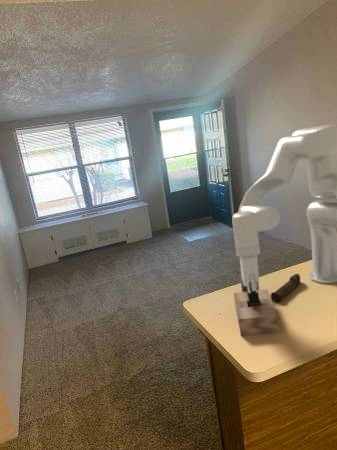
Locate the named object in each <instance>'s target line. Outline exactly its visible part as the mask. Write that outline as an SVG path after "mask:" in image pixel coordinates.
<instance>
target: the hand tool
mask: <svg viewBox="0 0 337 450" xmlns="http://www.w3.org/2000/svg"><path fill="white" fill-rule="evenodd" d="M300 284H301V276H300V274H299V273H295V274H293V275H292V276H290V277H289V280H288V281H287V282H285V284H283V285H282V286H281V287H279V288H278V289H276V290H275V291H274V292H271V294H270V298H271V300H272V302H276V303H281V301H283V299H284V298H285V297H286V296H287V295H289V293H290V292H292V291H293V290H294V289H297V288H298V287H299V286H300Z"/></svg>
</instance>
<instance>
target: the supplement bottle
mask: <svg viewBox="0 0 337 450" xmlns="http://www.w3.org/2000/svg"><path fill="white" fill-rule="evenodd" d="M239 278H240V279H239V280H240V287H241V292H247V286H246V287H245V286H244V284H243V281H242V276H241V271H240V272H239ZM257 290H260V284H259V285H257Z"/></svg>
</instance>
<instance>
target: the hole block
mask: <svg viewBox="0 0 337 450" xmlns="http://www.w3.org/2000/svg"><path fill="white" fill-rule="evenodd" d="M257 291H258V295H259V303H258V305H259V306H256V307H250V306H249V298H248V295H247V292H242V291H239V292H233V296H234V304H235V305H234V306H235V312H236V316H237V321H238V322H237V323H238V327H239V333H240V336H241V337H243V336H244V337H245V336H255V335H266V333H268V334H278V333H280V323H279V315H278V312H277V310H276V307H275V305H274V303H273V302H274V301H273V300H272V299H271V294H270V293H269V291H268V289H259V290H257Z"/></svg>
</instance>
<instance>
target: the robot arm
mask: <svg viewBox="0 0 337 450" xmlns="http://www.w3.org/2000/svg"><path fill="white" fill-rule="evenodd" d="M336 149H337V125H336V124H326V125H325V124H324V125H318V126H309V127H305V128H299V129H296V130H295V131H293V133H292V134H291V135H287V136H284V137H282V138H281V139H279V141H278V142H277V144H276V146H275V148H274V151H273V154H272V156H271V157H270V160H269V163H268V165H267V168H266V171H265V172H264V174H263V176H261V178H259V179H257V180H256V181H255V183H253V185H251V186H250V187H249V189H247V191H246V192H245V194H244V195H243V198H242V201H241V202H240V205H239V207H238V211H237V212H236V213H234V214H233V215H232V217H231V223H232V229H233V230H232V231H233V236H234V237H233V238H234V248H235V254H236V256H237V257H239V265H240V272H241V276H242V281H243V284H244V286H245V287H246V286H248V289H249V292H248V289H247V295H248V296H249V297H248V298H249V303H250V304H256V303H259V295H258V291H257V285H259V286H260V276H259V275H260V274H259V265H258V256H259V255H260V254H261V252H260V251H261V250H260V240H259V232H264V231H269V230H272V229H274V228H276V227H277V226H278V225H279V223H280V219H281V214H280V212H279V211H278V210H277V209H276V208H275V207H272V206H265V205H259V204H260V203H261V201H263V199H264V198H266V197H267V196H268V195H270V194H272V193H274V192H276V191H278V190H281V189H283V188H285V187H286V186H288V185H289V184H290V183H291V180H292V178H293V174H294V172H295V170H296V167H297V165H298V163H299V162H301V161H305V162H306V164H307V165H306V166H307V167H306V168H307V179H308V180H307V181H308V188H309V193H310V195H311V196H312V197H313V198H319V199H320V198H321V199H336V200H335V201H334V200H321V199H320V200H314V201H312V202H311V203H310V204H308V205H307V208H306V219H307V222H308V225H309V229H310V243H311V256H312V270H311V271H310V272H309V279H310V280H312V281H314V282H315V283H316V282H317V283H320V284H336V283H337V230H336V228H337V171H336V172H335V171H334V165H333V158H332V155H331V152H333V151H335V150H336ZM249 283H251V284H249ZM250 287H251V288H250Z"/></svg>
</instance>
